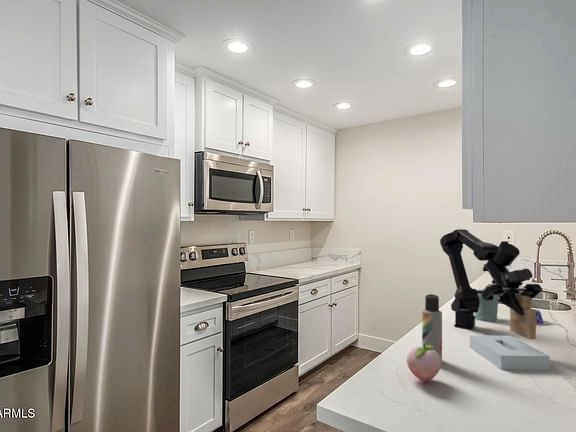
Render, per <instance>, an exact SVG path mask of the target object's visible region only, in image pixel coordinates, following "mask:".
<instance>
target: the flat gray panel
mask: <svg viewBox="0 0 576 432" xmlns="http://www.w3.org/2000/svg"><path fill="white" fill-rule="evenodd" d="M469 348H470V349H471V350H473V351H474V352H476V353H477V354H478V355H480V356H481V357H483V358H485V359H486V360H487V361H488V362H490V363H491V364H493V365H494V366H495V367H497V368H498V369H500V370H523V371H524V370H525V371H526V370H529V371H530V370H532V371H533V370H534V371H541V370H542V371H550V369H551V367H550V364H551V363H550V359H551V357H550V355H548V354H547V353H544V351H543V352H542V351H541V350H539V349H537V348H535V347H533V346H531V345H529V344H527V343H525V342H524V341H521V340H520V339H518V338H516V337H515V336H512V335H479V334H478V335H477V334H476V335H469Z"/></svg>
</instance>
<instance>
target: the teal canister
mask: <svg viewBox="0 0 576 432" xmlns="http://www.w3.org/2000/svg"><path fill="white" fill-rule="evenodd" d="M476 290H477V294H478V297H479V301H480V305H479V309H478V312H477V313H476V312H474V316H475V320H477V321H481V322H487V323H488V322H489V323H496V322H497V321H498V310H499V308H498V307H499V302H498V300H499V299H500V298H499V296H498V295H493V297H494V298H493V300H491V301H485V300H484V298H483V297H482V292H483V291H484V290H485V289H476Z"/></svg>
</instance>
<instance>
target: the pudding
mask: <svg viewBox="0 0 576 432" xmlns="http://www.w3.org/2000/svg"><path fill="white" fill-rule="evenodd" d="M533 309H534V310H536V325H537V326H538V325H540V326H542V325H549V324H550V321H549V320H546V319H543V317H542V313H541V311H540V310H539V309H535V308H533Z"/></svg>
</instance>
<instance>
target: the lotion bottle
mask: <svg viewBox="0 0 576 432" xmlns="http://www.w3.org/2000/svg"><path fill="white" fill-rule="evenodd" d="M424 297H425V300H424V301H425V304H424V305H425V307H424V309H423V310H421V311H422V313H421V315H422V316H421V319H422V320H421V338H422V339H421V347H423V346H424V344H425V345H431V346H433V347H434V348H435V349H433V350H435V351H436V352H437V353H438V354H439V356H440V358H441V363H442V361H443V312H442V311H441V310H440V299H439V298H440V296H438V295H436V294H430V293H429V294H427V295H425V296H424Z"/></svg>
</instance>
